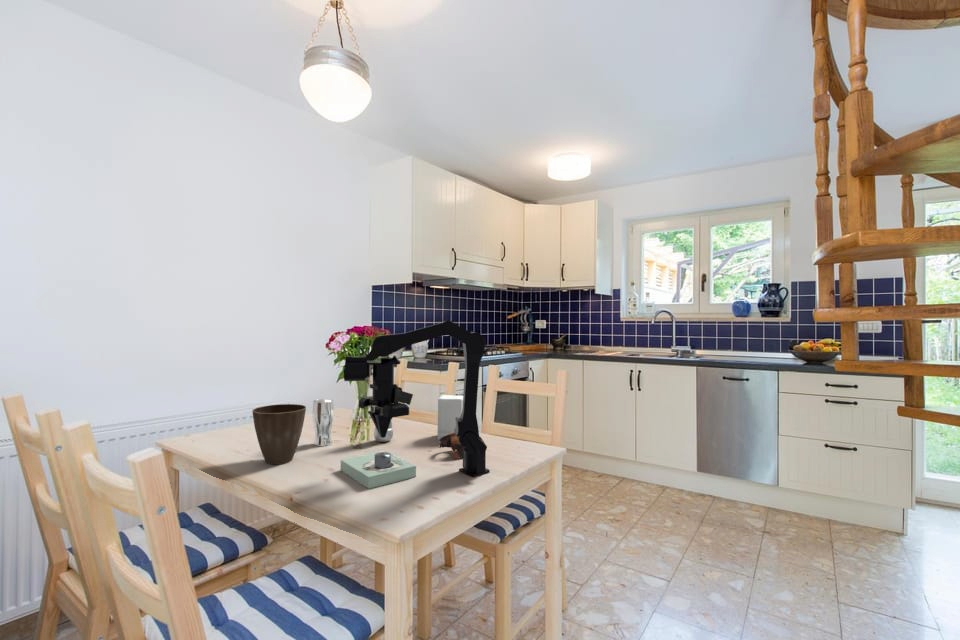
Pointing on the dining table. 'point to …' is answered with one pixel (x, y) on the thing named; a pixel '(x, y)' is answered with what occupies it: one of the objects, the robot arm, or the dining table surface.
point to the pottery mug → (452, 445)
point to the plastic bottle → (388, 434)
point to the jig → (377, 470)
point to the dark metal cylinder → (382, 460)
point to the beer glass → (322, 421)
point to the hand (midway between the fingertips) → (382, 437)
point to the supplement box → (448, 413)
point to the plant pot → (279, 431)
